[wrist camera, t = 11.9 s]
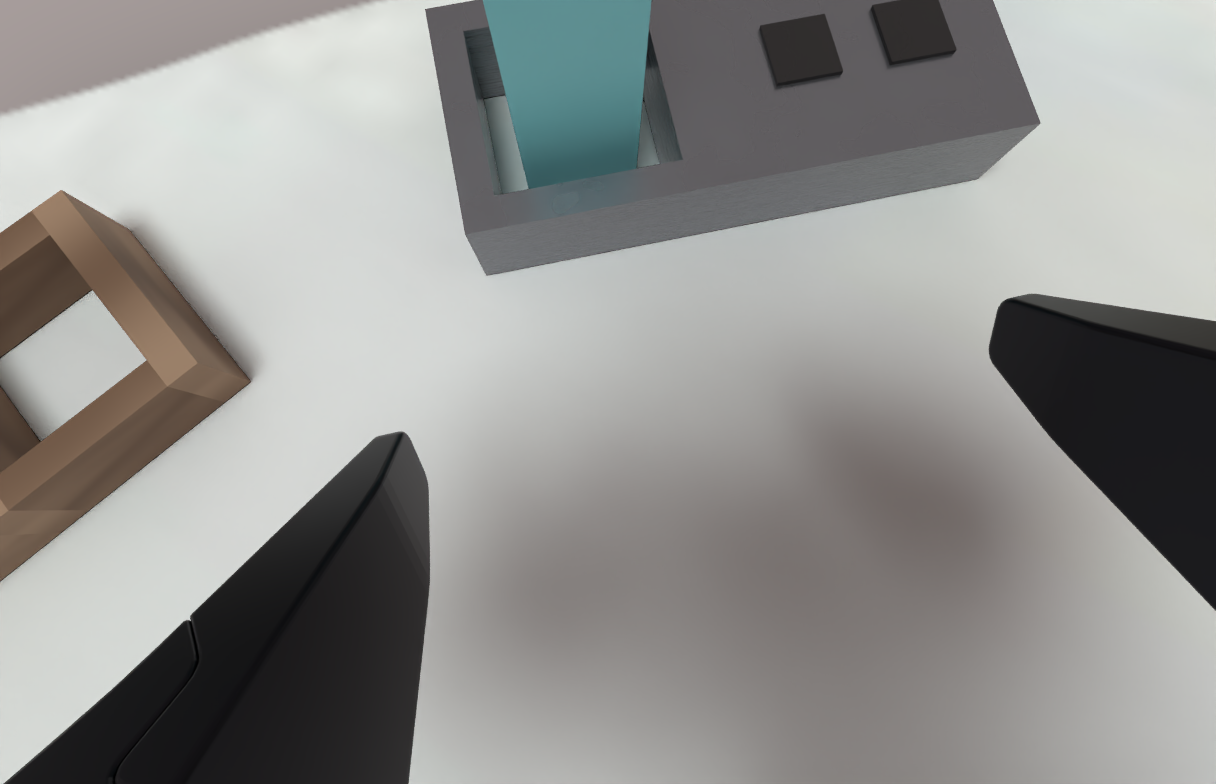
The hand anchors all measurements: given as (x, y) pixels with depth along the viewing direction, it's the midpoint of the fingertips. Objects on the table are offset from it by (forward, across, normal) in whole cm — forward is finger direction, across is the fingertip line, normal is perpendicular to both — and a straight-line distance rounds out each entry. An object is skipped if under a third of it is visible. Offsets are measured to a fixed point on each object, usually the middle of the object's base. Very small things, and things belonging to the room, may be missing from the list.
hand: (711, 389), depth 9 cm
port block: (+14, -4, -1) cm, 15 cm away
